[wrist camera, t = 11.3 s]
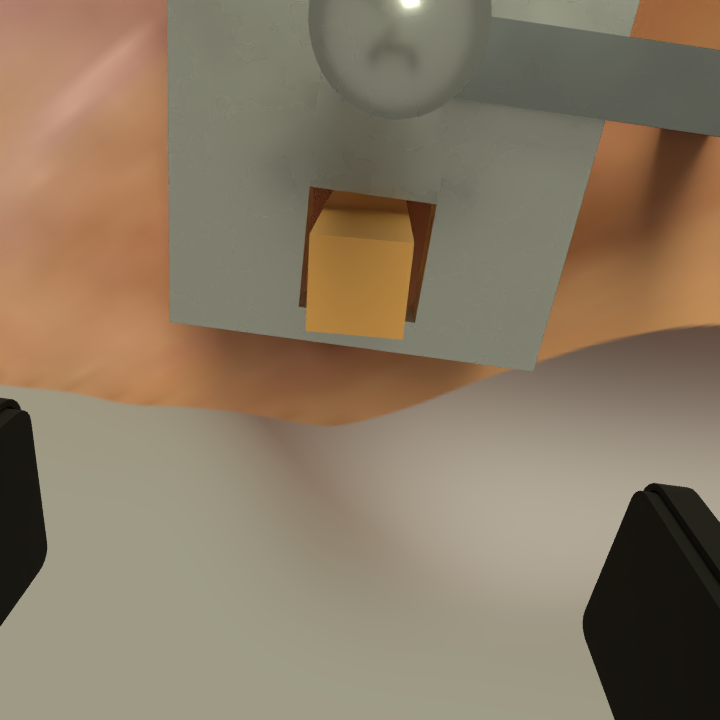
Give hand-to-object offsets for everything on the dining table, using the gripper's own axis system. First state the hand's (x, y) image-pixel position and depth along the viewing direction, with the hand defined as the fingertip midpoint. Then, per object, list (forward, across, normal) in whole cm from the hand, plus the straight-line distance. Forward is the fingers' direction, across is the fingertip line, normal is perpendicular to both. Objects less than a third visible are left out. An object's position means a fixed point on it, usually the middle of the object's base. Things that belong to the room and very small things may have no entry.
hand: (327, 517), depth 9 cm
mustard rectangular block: (+24, 0, 0) cm, 24 cm away
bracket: (+24, -9, -7) cm, 27 cm away
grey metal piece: (+24, 0, -5) cm, 24 cm away
